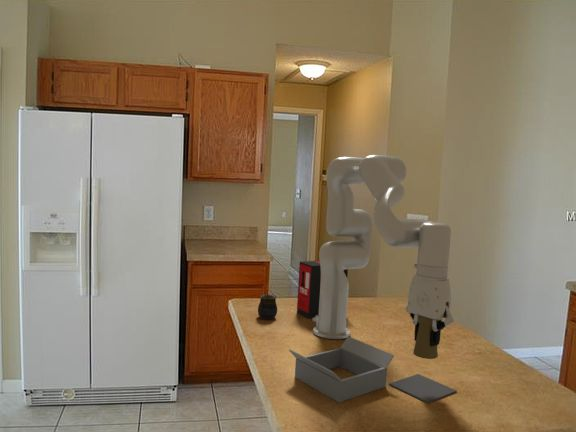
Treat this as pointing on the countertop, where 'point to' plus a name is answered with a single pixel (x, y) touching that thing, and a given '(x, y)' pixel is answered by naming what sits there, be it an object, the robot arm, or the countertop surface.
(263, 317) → the mate gourd
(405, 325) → the countertop surface
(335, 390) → the carton
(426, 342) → the cork
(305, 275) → the cleaning product box
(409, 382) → the rubber mat
